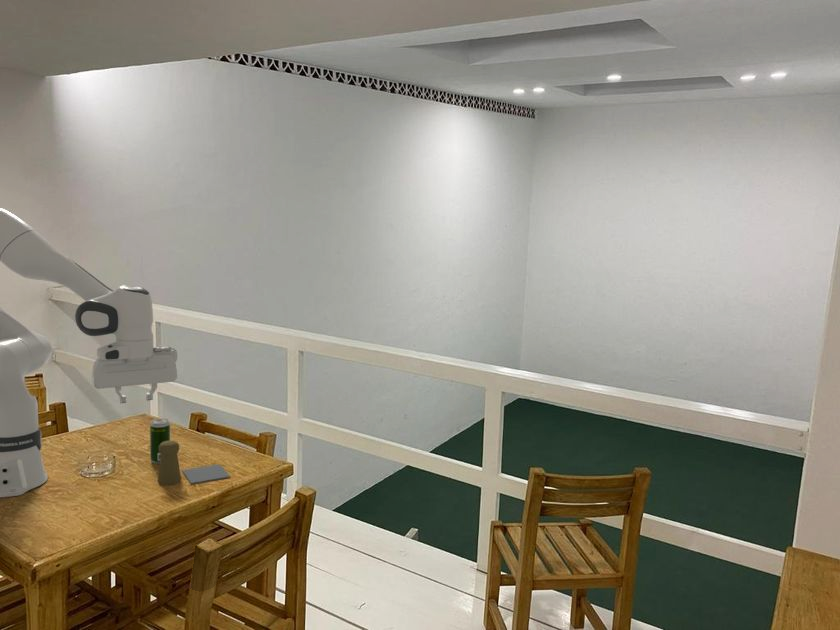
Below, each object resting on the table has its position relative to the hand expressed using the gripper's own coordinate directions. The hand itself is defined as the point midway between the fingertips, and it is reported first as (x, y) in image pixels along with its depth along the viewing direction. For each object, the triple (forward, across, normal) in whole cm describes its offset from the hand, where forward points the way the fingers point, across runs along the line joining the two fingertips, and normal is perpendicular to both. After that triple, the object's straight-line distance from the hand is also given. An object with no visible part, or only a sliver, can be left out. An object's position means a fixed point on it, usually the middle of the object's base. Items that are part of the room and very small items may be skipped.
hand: (136, 401), depth 174 cm
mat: (+23, -18, 0) cm, 29 cm away
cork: (+23, -8, 0) cm, 25 cm away
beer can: (+23, -9, -16) cm, 30 cm away
